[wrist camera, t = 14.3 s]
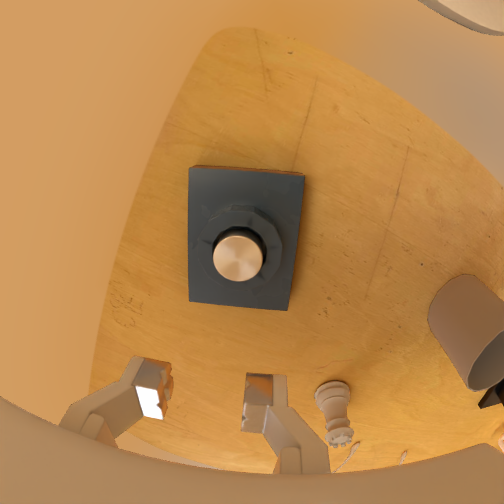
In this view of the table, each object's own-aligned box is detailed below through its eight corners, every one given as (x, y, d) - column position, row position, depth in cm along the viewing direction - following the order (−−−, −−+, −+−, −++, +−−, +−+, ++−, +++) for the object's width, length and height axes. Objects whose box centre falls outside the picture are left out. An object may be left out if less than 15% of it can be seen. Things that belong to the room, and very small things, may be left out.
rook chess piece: (328, 374, 32) (338, 428, 25) (356, 384, 33) (369, 435, 25) (306, 396, 34) (311, 448, 26) (334, 405, 34) (342, 454, 27)
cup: (470, 259, 26) (524, 305, 17) (490, 302, 28) (533, 348, 19) (416, 310, 29) (456, 371, 19) (442, 346, 30) (476, 401, 21)
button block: (195, 164, 25) (182, 170, 21) (302, 172, 24) (308, 179, 21) (194, 290, 29) (184, 312, 25) (286, 298, 29) (288, 322, 25)
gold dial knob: (217, 226, 23) (213, 233, 21) (265, 230, 23) (264, 238, 21) (216, 269, 24) (212, 279, 22) (261, 273, 24) (260, 283, 22)
